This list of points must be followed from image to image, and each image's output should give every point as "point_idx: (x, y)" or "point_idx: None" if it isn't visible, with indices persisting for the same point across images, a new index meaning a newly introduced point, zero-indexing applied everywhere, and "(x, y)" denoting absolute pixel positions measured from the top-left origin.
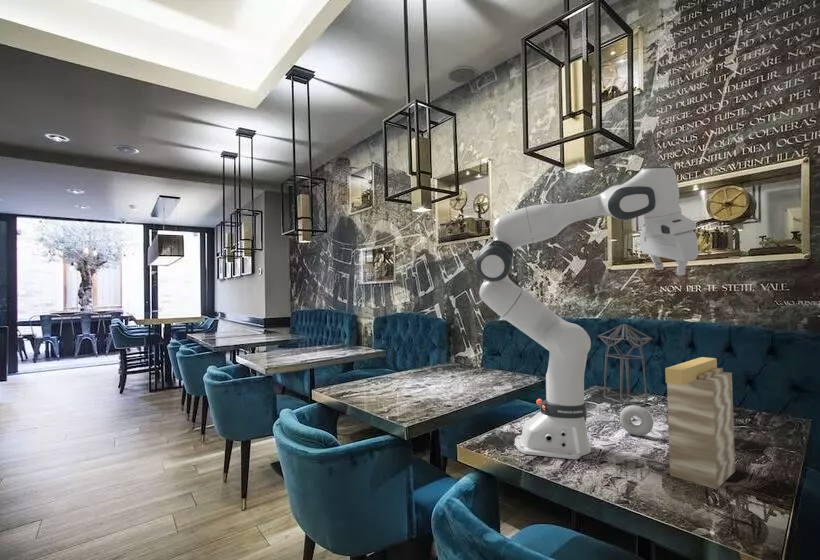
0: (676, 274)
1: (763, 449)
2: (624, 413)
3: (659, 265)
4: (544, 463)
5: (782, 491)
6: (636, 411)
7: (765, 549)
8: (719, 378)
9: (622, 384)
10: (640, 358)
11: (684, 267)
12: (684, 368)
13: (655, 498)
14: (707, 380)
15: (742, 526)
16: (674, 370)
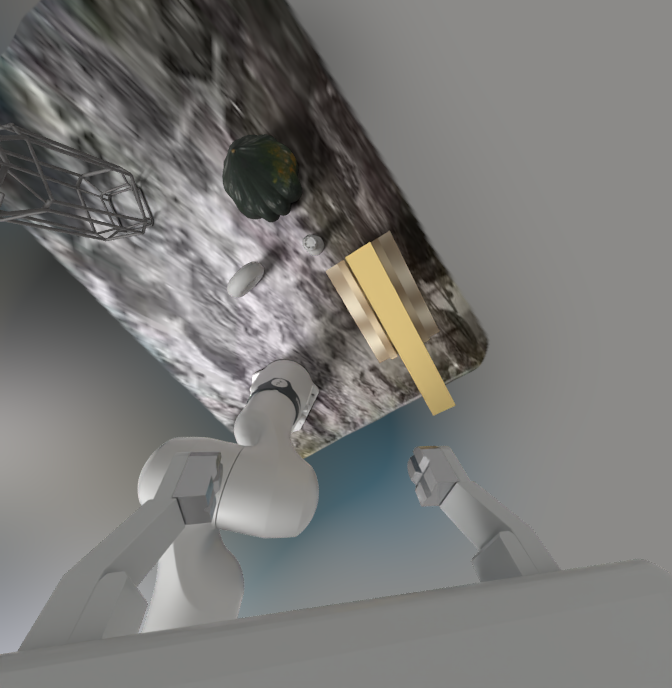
0: (412, 469)
1: (318, 132)
2: (239, 295)
3: (211, 500)
4: (322, 420)
5: (421, 240)
6: (247, 284)
7: (483, 347)
8: (423, 299)
9: (56, 180)
10: (33, 150)
11: (479, 493)
12: (444, 390)
13: (403, 369)
14: (431, 332)
15: (457, 336)
16: (445, 408)
